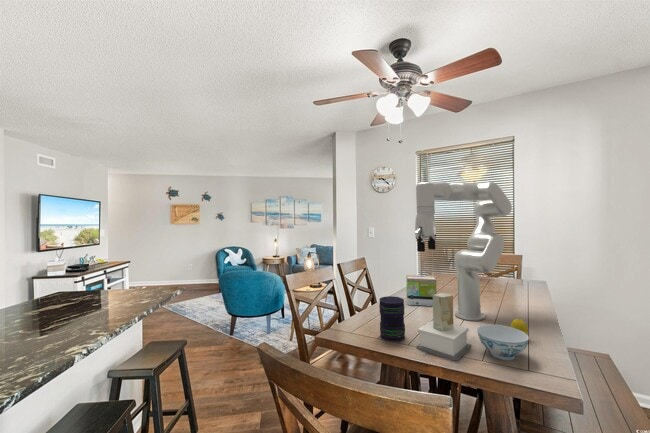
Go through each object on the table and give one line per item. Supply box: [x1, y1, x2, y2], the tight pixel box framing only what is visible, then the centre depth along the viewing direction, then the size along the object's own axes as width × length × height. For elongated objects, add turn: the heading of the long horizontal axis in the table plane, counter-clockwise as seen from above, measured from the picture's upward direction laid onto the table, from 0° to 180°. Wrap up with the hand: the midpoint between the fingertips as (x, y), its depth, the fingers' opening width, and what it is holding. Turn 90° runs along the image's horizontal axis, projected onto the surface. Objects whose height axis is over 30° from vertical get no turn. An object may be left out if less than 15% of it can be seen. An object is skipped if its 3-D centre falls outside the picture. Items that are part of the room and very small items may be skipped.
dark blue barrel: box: [379, 295, 406, 343], centre depth 116 cm, size 10×10×15 cm
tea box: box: [406, 274, 437, 307], centre depth 160 cm, size 15×10×15 cm, turn 77°
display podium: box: [415, 320, 472, 362], centre depth 105 cm, size 14×14×7 cm
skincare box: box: [432, 292, 455, 331], centre depth 106 cm, size 6×4×12 cm
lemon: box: [510, 318, 529, 335], centre depth 111 cm, size 6×6×8 cm
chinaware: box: [476, 324, 529, 361], centre depth 99 cm, size 15×15×8 cm
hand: (426, 250), depth 125 cm, fingers open, 9 cm apart
